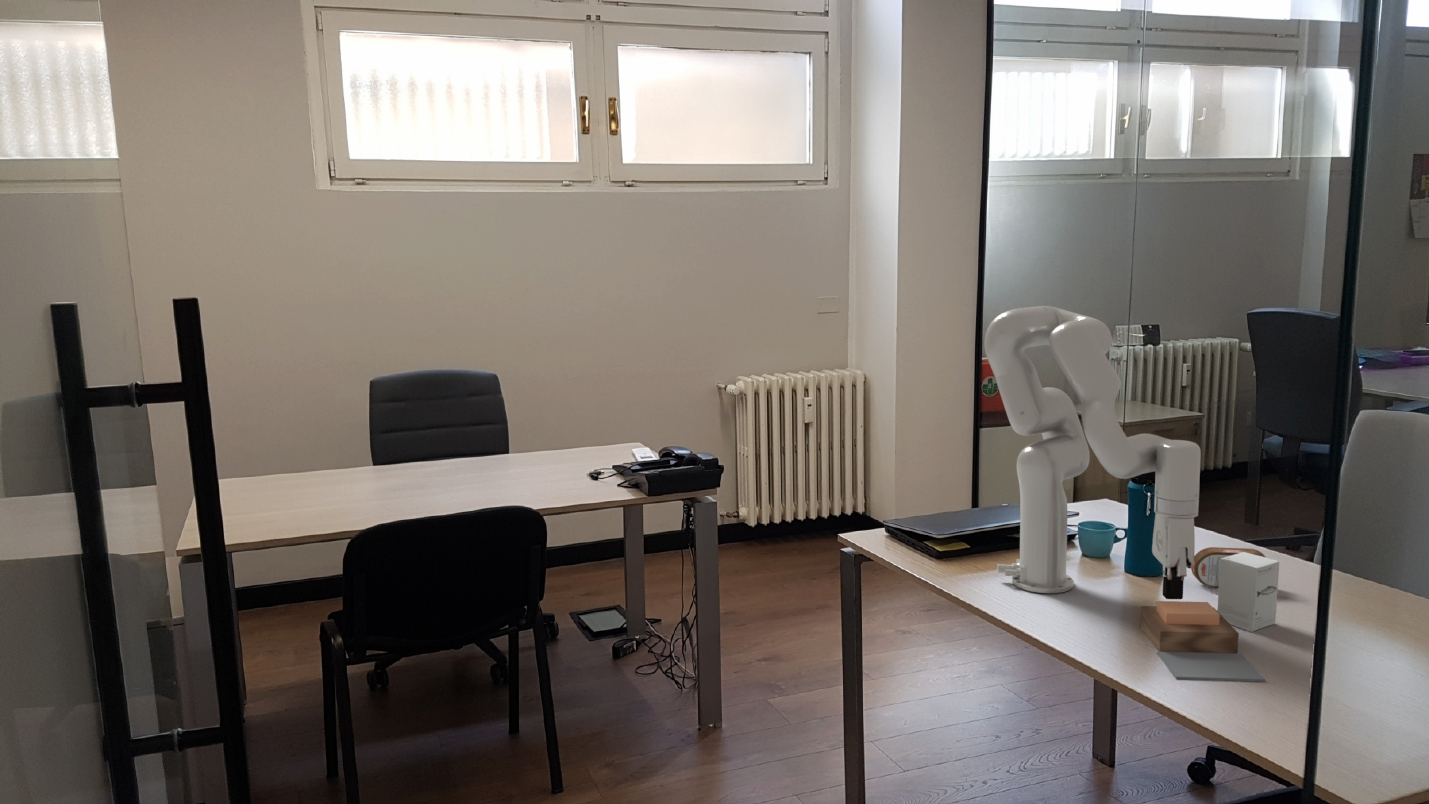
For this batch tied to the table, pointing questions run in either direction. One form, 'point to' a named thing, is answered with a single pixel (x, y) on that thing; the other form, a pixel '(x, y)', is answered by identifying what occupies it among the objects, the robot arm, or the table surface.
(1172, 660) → the mat
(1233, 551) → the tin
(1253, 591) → the supplement box
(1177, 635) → the wooden block
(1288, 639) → the table surface
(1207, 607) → the orange block
